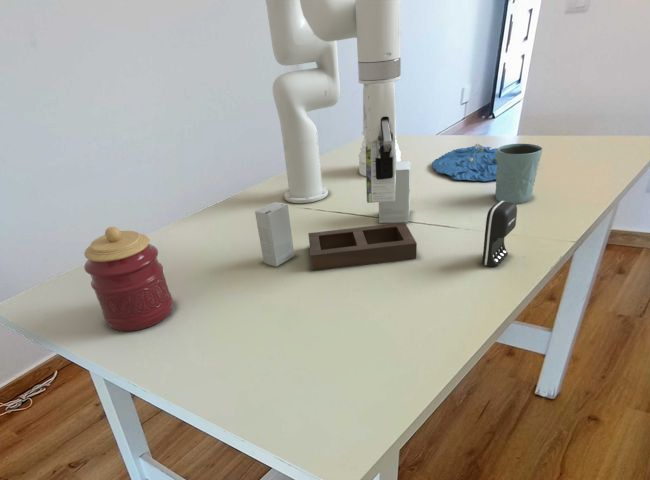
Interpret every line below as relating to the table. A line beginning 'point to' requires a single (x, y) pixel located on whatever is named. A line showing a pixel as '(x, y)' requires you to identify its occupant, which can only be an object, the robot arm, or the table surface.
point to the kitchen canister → (128, 280)
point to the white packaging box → (398, 197)
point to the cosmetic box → (275, 233)
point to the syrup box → (375, 188)
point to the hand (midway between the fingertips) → (381, 172)
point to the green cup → (516, 172)
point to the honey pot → (363, 156)
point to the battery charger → (498, 231)
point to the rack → (361, 246)
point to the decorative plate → (469, 163)
